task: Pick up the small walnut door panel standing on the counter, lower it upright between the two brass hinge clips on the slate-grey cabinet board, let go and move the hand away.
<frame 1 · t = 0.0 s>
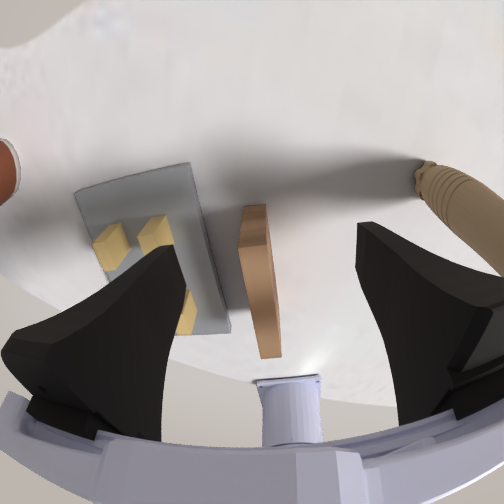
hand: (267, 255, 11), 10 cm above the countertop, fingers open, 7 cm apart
coffee cup: (3, 167, 19), on the countertop
handle: (426, 178, 19), on the countertop
hinge board: (157, 263, 23), on the countertop
door panel: (263, 261, 23), on the countertop
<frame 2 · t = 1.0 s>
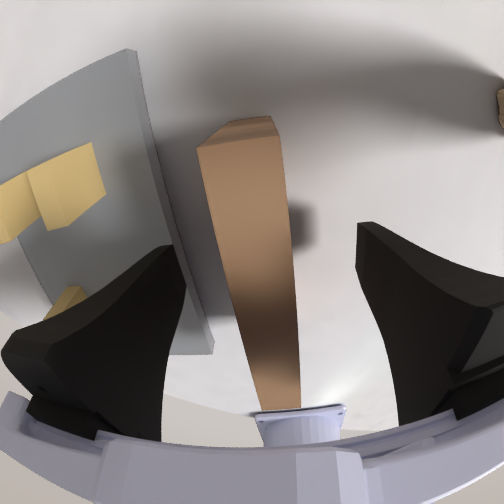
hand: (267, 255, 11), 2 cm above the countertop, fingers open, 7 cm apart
hinge board: (91, 237, 13), on the countertop
door panel: (266, 230, 13), on the countertop
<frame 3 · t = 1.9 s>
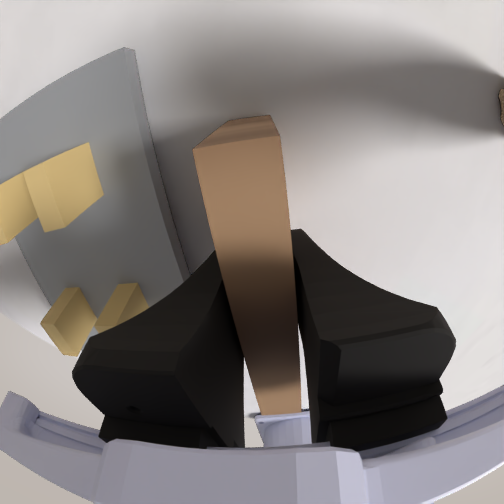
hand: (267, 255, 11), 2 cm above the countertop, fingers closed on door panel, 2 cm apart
hinge board: (89, 238, 13), on the countertop
door panel: (266, 232, 12), on the countertop, touching gripper
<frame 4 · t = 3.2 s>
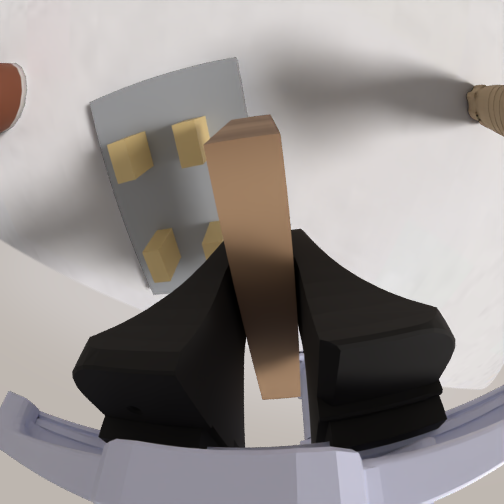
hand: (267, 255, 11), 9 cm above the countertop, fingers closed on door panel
coffee cup: (7, 96, 14), on the countertop
handle: (476, 104, 14), on the countertop
hinge board: (185, 189, 19), on the countertop
door panel: (266, 224, 13), point 6 cm above the countertop, touching gripper
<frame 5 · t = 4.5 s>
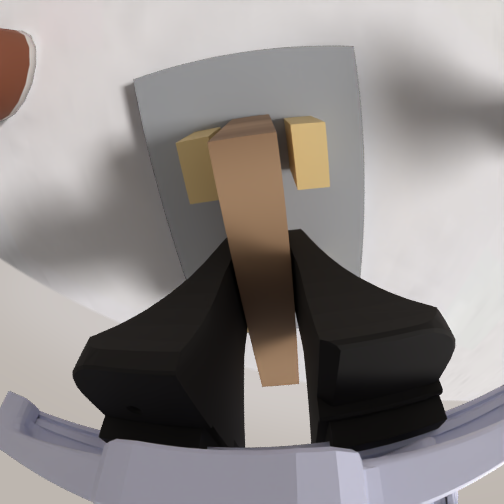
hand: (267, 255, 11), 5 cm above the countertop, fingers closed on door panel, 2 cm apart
coffee cup: (8, 74, 10), on the countertop
hinge board: (265, 209, 15), on the countertop
door panel: (265, 219, 14), point 1 cm above the countertop, touching gripper
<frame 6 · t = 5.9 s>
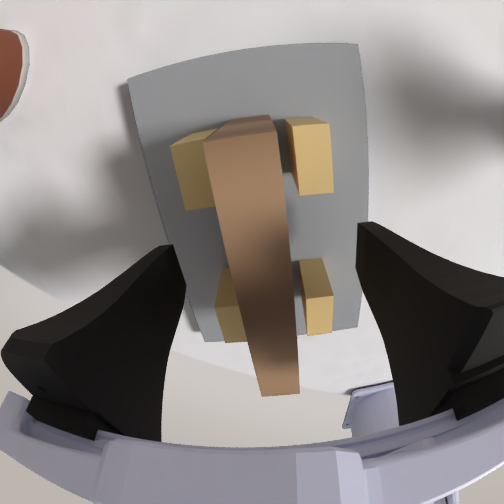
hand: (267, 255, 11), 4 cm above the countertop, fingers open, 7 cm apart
coffee cup: (2, 75, 9), on the countertop
hinge board: (265, 214, 14), on the countertop
door panel: (265, 223, 13), point 1 cm above the countertop, touching hinge board
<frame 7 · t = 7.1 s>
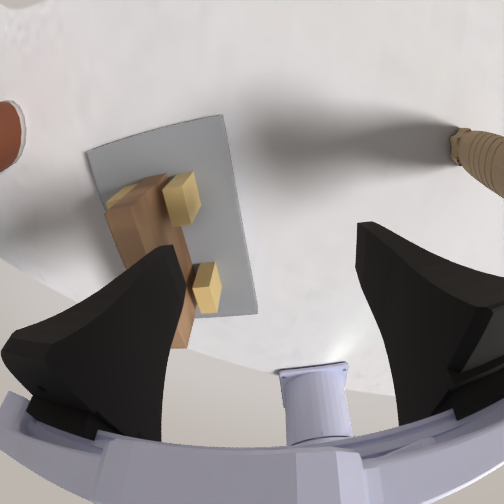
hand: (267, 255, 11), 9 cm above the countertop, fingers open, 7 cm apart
coffee cup: (7, 132, 16), on the countertop
handle: (460, 146, 16), on the countertop
hinge board: (178, 232, 21), on the countertop
door panel: (174, 239, 20), point 1 cm above the countertop, touching hinge board
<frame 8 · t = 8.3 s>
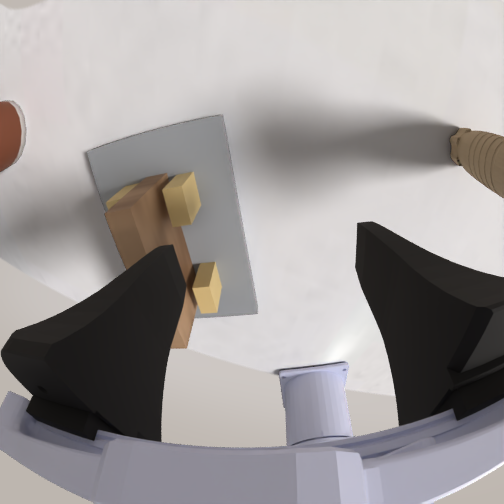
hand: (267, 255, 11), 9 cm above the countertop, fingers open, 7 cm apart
coffee cup: (7, 132, 16), on the countertop
handle: (460, 146, 16), on the countertop
hinge board: (178, 232, 21), on the countertop
door panel: (174, 239, 20), point 1 cm above the countertop, touching hinge board
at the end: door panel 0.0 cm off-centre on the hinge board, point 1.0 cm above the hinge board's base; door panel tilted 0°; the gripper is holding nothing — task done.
